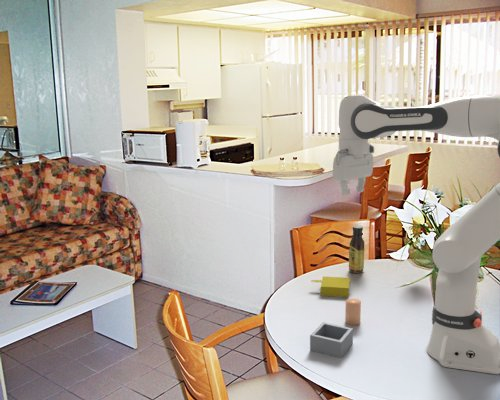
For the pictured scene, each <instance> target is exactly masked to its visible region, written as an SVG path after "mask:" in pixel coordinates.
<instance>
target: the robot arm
mask: <svg viewBox="0 0 500 400" xmlns="http://www.w3.org/2000/svg"><path fill="white" fill-rule="evenodd" d="M338 127H339V136H338V150H337V153H336V154H335V156H334V158H333V161H332V163H333V164H332V180H333V181H335V182H339V185H340V188H341V195H343V196H348V195H350V192H351V191H350V188H349V181H350V180H355V179H356V180H357V185H356V192H358V193H361V192H364V191H365V190H364V189H365V188H364V187H365V184H366V178H367V177H371V176H372V174H373V170H374V155H373V154H374V153H375V146H374V145H372V144H371V143H370V142H369V140H370V139H374V138H375V139H378V138H387V137H390V136H392V135H393V134H395V133H397V132H405V131H406V132H411V131H420V132H421V131H422V132H430V133H435V134H438V135H439V134H440V135H445V136H451V137H456V138H457V137H460V138H481V137H486V138H492V139H495V140H496V141H498V144H497V154H498V157H499V158H500V95H467V96H461V97H456V98H450V99H448V100H447V99H446V100H444V101H439V102H435V103H432V104H428V105H423V106H417V107H415V106H413V107H396V108H395V107H393V106H391V105H387V104H384V103H380V102H377V101H375V100H373V99H371V98H370V97H368V96H367V94H363V93H362V94H360V93H358V94H357V93H356V94H352V95H348V96H345V97H344V98H342V99H341V101H340V104H339V110H338ZM499 240H500V182H499V183H498V184H496V185H495V186H494V187H493V188H492V189H491V190H490V191H488V192H487V193H486V194H485V195H483V197H482V198H480V199H479V200H478V201H477V202H476V203H475V204H474V205H473V206H472V207H471V208H470V209H468V210H467V211H466V212H465V213H464V214H463V215H462V216H461V217H460V218H459V219H457V220H456V221H455V222H454V223H452V224H450V225H449V226H448V227H447V228H446V229H445V230H444V231H443V232H442V233H441V235H440V236H439V237H438V238H436V241H435V242H434V245H433V248H432V256H431V257H432V261H433V262H434V265H435V266H436V267H437V269H438V272H437V276H436V277H437V278H436V280H435V282H436V290H435V293H434V294H435V297H434V304H433V307H432V313H431V316H432V317H431V321H432V323H431V324H432V328H431V333H430V336H429V341H428V343H427V346H426V352H427V354H428V355H429V356H431V357H432V358H433V359H435V360H436V361H438V363H439V364H440V365H441V366H442V367H444V368H450V369H456V370H464V371H471V372H476V373H477V372H478V373H484V374H492V375H499V374H500V340H499V338H498V336H497V335H496V334H495V333H494V332H493V331H491V330H490V329H489V328H488V327H487V326H485V325H484V324H483V322H482V321H483V316H482V315H483V314H482V311H479V312H478V311H477V310H476V298H477V286H478V279H479V273H480V268H481V262H482V256H483V255H484V254H485V253H486V252H487V251H489V249H491V248H492V247H493V246H494V245H495V244H496V243H498V242H499Z"/></svg>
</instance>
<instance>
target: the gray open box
mask: <svg viewBox="0 0 500 400" xmlns="http://www.w3.org/2000/svg"><path fill="white" fill-rule="evenodd" d="M353 341H354V328H353V327H352V328H351V327H348V326H343V325H337V324H335V323H329V322H325V321H324V322H323V321H322V322H321V323H320V325H318V326H317V327H316V328H315V329H314V330H313V332H311V334H310V335H309V350H310V351H312V352H316V353H320V354H325V355H328V356H332V357H336V358H340V359H341V358H342V357H344V355H345V354H346V352H347V351H348V350H349V349H350V348H351V346H352V345H353V343H354V342H353Z"/></svg>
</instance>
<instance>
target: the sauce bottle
mask: <svg viewBox="0 0 500 400" xmlns="http://www.w3.org/2000/svg"><path fill="white" fill-rule="evenodd" d="M363 229H364V228H363V225H359V224H356V225H353V226H352V236H351V240H350V242H349V244H348V245H349V249H348V250H349V251H348V270H349V272H350V273H352V274H361V273H363V272H364V268H365V241H364V238H363Z"/></svg>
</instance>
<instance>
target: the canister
mask: <svg viewBox="0 0 500 400" xmlns="http://www.w3.org/2000/svg"><path fill="white" fill-rule="evenodd" d="M361 303H362V301H361V300H359V299H358V298H357V299H356V298H348V299H346V300H345V311H344V312H345V318H344V319H345V321H344V322H345V324H346V325H348V326H351V327H353V326H355V327H356V326H359V325H360V324H361V311H362V310H361V307H362V305H361Z"/></svg>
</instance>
